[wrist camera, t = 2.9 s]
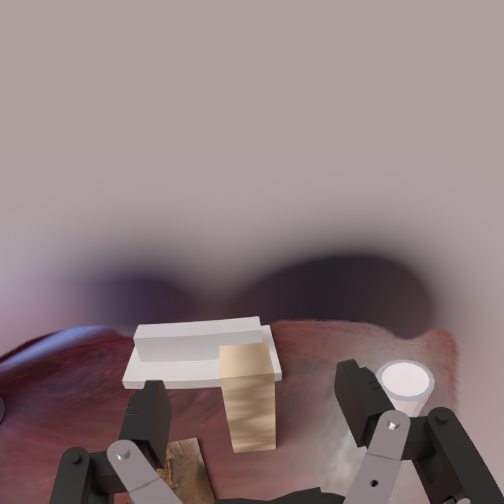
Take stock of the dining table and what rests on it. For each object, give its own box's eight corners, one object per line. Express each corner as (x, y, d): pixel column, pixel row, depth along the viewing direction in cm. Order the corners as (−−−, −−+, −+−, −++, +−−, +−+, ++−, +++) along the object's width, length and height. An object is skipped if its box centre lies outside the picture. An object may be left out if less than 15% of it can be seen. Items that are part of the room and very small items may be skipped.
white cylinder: (361, 439, 27) (374, 399, 25) (366, 397, 33) (376, 356, 31) (418, 441, 25) (438, 401, 23) (416, 400, 31) (431, 359, 29)
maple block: (234, 453, 27) (219, 377, 23) (232, 423, 32) (219, 346, 28) (275, 448, 28) (274, 372, 24) (270, 419, 32) (267, 341, 28)
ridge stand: (125, 388, 37) (112, 356, 35) (141, 341, 48) (133, 311, 46) (281, 380, 38) (281, 346, 36) (269, 332, 50) (268, 301, 48)
